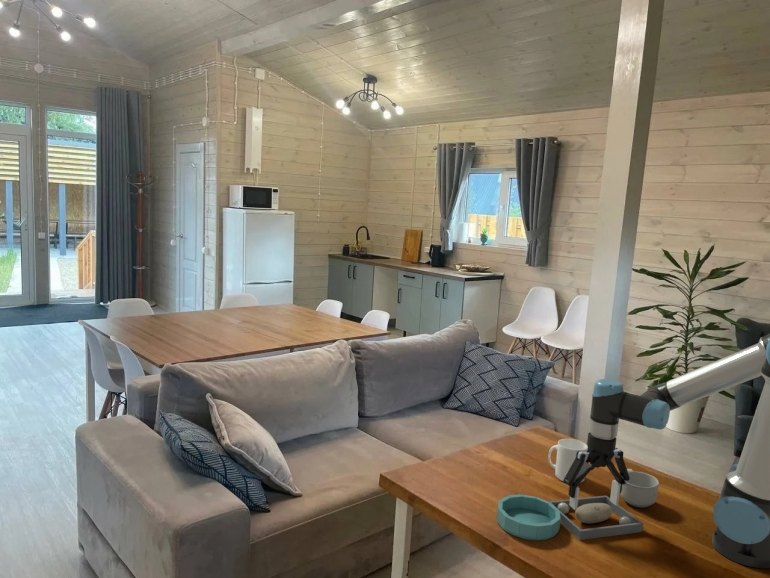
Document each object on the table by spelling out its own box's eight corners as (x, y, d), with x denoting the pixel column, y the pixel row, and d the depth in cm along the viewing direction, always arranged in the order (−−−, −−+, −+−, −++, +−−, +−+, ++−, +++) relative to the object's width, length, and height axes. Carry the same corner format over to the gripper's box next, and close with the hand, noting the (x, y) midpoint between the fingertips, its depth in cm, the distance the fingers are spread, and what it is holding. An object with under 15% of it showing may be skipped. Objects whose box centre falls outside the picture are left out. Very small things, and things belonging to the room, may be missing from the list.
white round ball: (570, 515, 170) (571, 505, 170) (561, 516, 169) (562, 506, 169) (564, 510, 173) (565, 500, 173) (554, 511, 172) (555, 501, 172)
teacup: (659, 514, 174) (663, 488, 173) (621, 508, 176) (624, 483, 175) (648, 492, 187) (651, 468, 186) (613, 487, 190) (615, 464, 188)
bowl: (570, 537, 159) (572, 522, 158) (515, 544, 154) (516, 528, 153) (538, 506, 175) (539, 492, 174) (486, 511, 170) (487, 497, 169)
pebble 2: (633, 530, 164) (634, 519, 164) (623, 531, 163) (624, 520, 163) (625, 524, 167) (626, 513, 167) (616, 525, 166) (617, 514, 166)
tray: (642, 531, 163) (643, 523, 163) (579, 540, 158) (580, 531, 157) (605, 503, 179) (606, 495, 178) (546, 509, 173) (547, 501, 173)
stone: (620, 513, 168) (595, 511, 161) (607, 529, 170) (582, 528, 163) (605, 498, 173) (580, 495, 166) (594, 514, 174) (568, 512, 168)
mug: (586, 486, 189) (589, 452, 188) (547, 480, 192) (550, 446, 190) (583, 473, 198) (586, 440, 197) (546, 468, 201) (549, 436, 199)
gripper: (630, 427, 172) (621, 495, 175) (556, 431, 165) (548, 502, 168) (648, 437, 165) (639, 508, 168) (571, 442, 158) (563, 516, 161)
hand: (593, 505), depth 168 cm, fingers open, 13 cm apart
